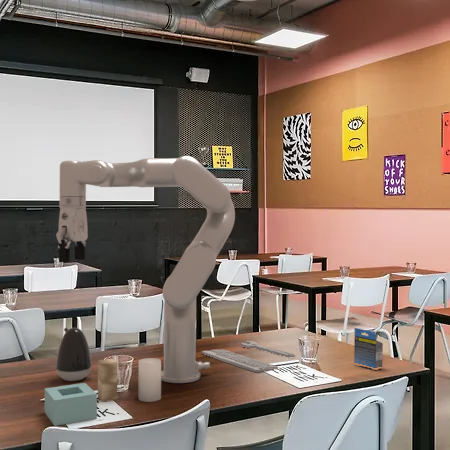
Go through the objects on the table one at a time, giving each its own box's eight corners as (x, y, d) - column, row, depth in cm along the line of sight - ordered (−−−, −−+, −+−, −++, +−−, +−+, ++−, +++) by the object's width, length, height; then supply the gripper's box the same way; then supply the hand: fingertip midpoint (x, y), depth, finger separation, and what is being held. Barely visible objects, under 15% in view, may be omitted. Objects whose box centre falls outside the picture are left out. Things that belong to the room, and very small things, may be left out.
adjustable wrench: (296, 359, 197) (296, 354, 197) (282, 361, 193) (282, 356, 193) (250, 344, 217) (250, 339, 217) (237, 346, 213) (237, 342, 213)
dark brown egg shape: (80, 371, 177) (80, 322, 177) (97, 379, 170) (98, 328, 169) (49, 378, 170) (49, 327, 170) (66, 386, 163) (66, 333, 162)
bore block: (84, 406, 146) (84, 382, 146) (96, 418, 138) (96, 393, 138) (44, 412, 141) (44, 388, 141) (54, 426, 133) (54, 400, 133)
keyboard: (281, 369, 184) (281, 363, 184) (256, 375, 177) (257, 369, 177) (224, 351, 207) (224, 346, 207) (201, 356, 200) (201, 350, 200)
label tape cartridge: (383, 369, 184) (383, 330, 183) (375, 371, 181) (375, 332, 181) (361, 363, 191) (361, 326, 190) (353, 364, 188) (353, 327, 188)
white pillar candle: (155, 393, 157) (155, 357, 157) (164, 399, 152) (164, 362, 152) (135, 396, 154) (135, 359, 154) (143, 403, 149) (143, 365, 149)
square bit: (112, 395, 155) (112, 358, 155) (117, 399, 152) (117, 362, 151) (97, 397, 153) (97, 360, 153) (102, 401, 150) (102, 363, 149)
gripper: (70, 202, 160) (70, 263, 160) (97, 203, 177) (96, 258, 177) (46, 202, 161) (45, 263, 162) (74, 203, 178) (74, 258, 179)
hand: (72, 260), depth 170 cm, fingers open, 9 cm apart
